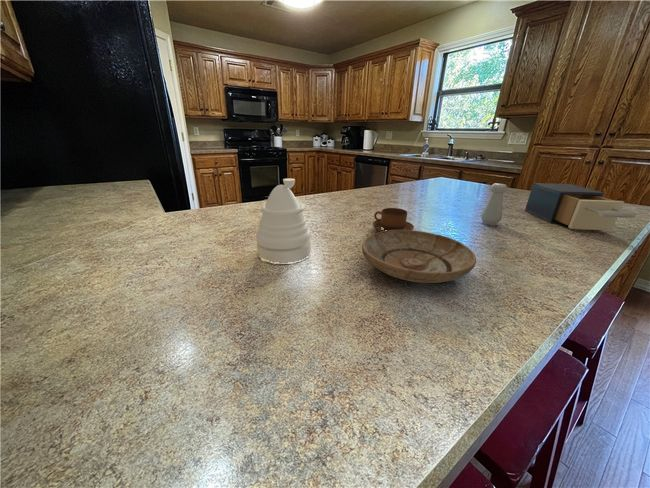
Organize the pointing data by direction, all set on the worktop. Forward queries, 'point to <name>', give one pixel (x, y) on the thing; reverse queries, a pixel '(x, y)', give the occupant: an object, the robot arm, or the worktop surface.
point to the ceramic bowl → (418, 256)
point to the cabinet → (552, 198)
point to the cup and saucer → (392, 220)
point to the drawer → (590, 212)
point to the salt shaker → (494, 205)
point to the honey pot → (283, 227)
